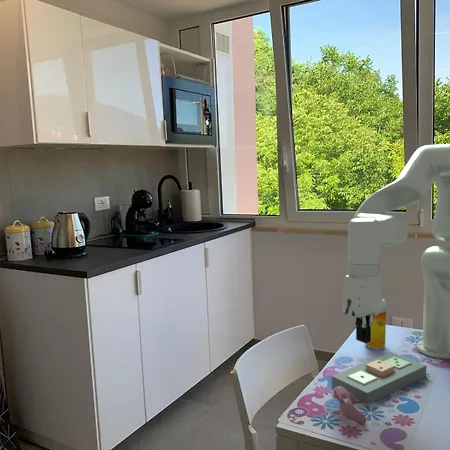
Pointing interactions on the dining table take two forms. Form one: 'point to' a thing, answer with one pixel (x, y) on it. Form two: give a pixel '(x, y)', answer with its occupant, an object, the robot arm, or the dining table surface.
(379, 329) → the beer can
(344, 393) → the video game controller
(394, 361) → the button three
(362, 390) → the panel
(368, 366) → the button two
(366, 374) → the button one
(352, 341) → the dining table surface
